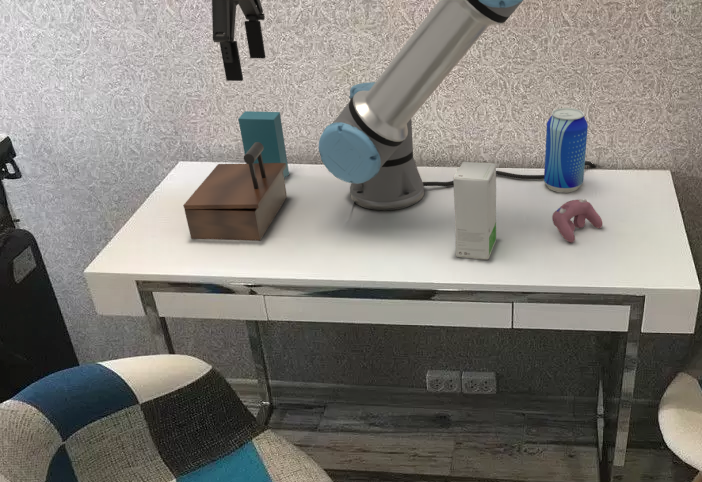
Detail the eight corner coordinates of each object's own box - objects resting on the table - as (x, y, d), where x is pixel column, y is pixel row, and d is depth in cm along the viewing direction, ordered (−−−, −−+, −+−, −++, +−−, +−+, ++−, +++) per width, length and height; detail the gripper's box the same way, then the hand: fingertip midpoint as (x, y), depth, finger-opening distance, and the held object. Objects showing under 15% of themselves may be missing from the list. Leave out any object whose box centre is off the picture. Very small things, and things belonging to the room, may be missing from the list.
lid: (286, 166, 160) (279, 129, 155) (258, 208, 144) (249, 168, 139) (219, 167, 161) (209, 130, 156) (184, 209, 145) (173, 169, 140)
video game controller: (588, 229, 157) (578, 195, 155) (606, 226, 153) (596, 191, 151) (556, 245, 151) (545, 210, 149) (573, 243, 147) (562, 207, 146)
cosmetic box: (488, 261, 143) (489, 181, 134) (452, 257, 144) (451, 177, 135) (497, 239, 150) (498, 162, 141) (463, 236, 151) (462, 159, 142)
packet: (289, 173, 174) (279, 111, 166) (283, 182, 171) (273, 119, 163) (255, 173, 175) (244, 111, 167) (249, 181, 171) (238, 118, 163)
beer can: (556, 174, 174) (561, 103, 165) (590, 184, 170) (596, 111, 161) (536, 187, 169) (539, 114, 160) (570, 197, 165) (575, 123, 156)
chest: (287, 199, 164) (282, 169, 160) (260, 243, 148) (254, 211, 144) (225, 197, 164) (219, 167, 161) (191, 241, 149) (184, 209, 145)
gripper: (227, -74, 140) (247, 49, 152) (173, -49, 120) (202, 90, 132) (268, -73, 140) (285, 49, 152) (222, -49, 119) (246, 91, 132)
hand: (246, 68), depth 142 cm, fingers open, 13 cm apart
